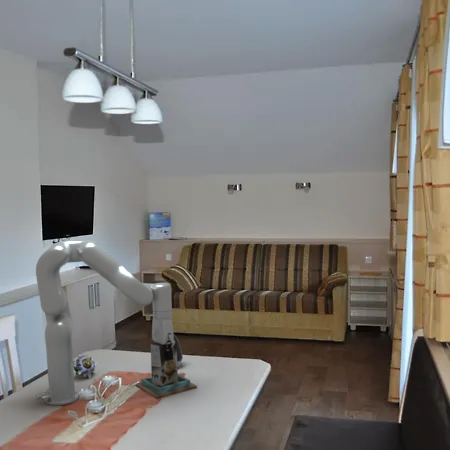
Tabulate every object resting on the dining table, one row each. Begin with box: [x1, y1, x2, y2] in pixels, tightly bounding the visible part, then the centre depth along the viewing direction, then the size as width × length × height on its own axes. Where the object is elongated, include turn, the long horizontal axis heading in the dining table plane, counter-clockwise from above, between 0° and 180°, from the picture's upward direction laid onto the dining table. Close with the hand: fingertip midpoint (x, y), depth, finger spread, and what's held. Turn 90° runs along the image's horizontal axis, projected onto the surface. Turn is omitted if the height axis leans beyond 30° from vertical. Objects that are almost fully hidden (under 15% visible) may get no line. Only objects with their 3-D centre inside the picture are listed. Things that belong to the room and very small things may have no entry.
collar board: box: [135, 373, 198, 400], centre depth 218 cm, size 18×18×3 cm
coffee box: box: [150, 341, 179, 386], centre depth 218 cm, size 9×6×16 cm
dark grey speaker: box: [173, 333, 184, 368], centre depth 242 cm, size 10×10×15 cm
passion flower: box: [73, 353, 98, 379], centre depth 235 cm, size 11×11×12 cm
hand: (164, 357), depth 218 cm, fingers closed on coffee box, 7 cm apart
